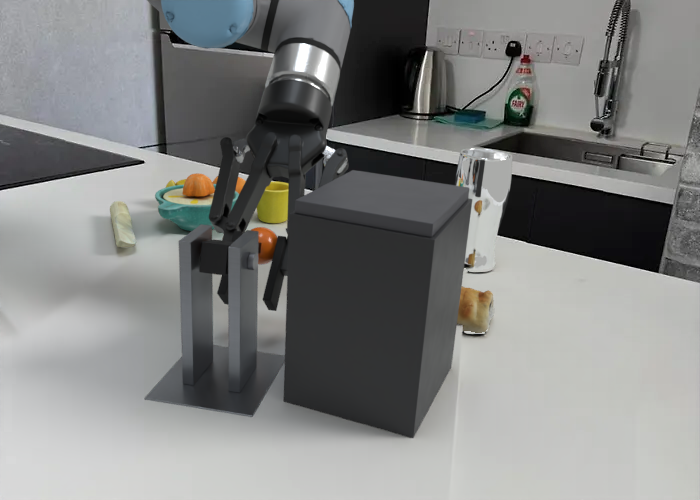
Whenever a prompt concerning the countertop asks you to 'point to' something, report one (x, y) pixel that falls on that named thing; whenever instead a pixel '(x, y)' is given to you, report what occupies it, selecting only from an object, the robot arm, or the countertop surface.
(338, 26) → the robot arm
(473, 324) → the pastry
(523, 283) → the countertop surface
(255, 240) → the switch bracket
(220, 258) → the lever
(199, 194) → the toy juicer set
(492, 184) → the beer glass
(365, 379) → the lidded storage box
